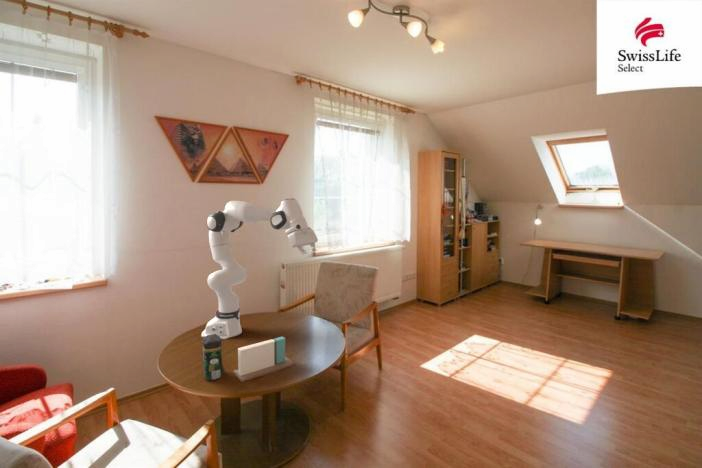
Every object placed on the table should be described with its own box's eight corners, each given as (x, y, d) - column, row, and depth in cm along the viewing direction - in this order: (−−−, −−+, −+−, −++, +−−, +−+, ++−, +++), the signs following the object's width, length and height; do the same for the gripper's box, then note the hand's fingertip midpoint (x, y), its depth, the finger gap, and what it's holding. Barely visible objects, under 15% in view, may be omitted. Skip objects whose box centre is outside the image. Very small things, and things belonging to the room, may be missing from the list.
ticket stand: (241, 382, 153) (240, 354, 151) (233, 372, 161) (233, 345, 159) (293, 365, 169) (293, 339, 167) (284, 357, 176) (284, 332, 175)
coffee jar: (203, 372, 160) (201, 334, 158) (221, 368, 164) (220, 331, 161) (204, 382, 152) (203, 342, 149) (223, 378, 155) (222, 339, 153)
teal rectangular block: (276, 364, 166) (275, 341, 165) (273, 361, 169) (273, 338, 167) (285, 361, 170) (285, 338, 168) (282, 358, 172) (282, 336, 170)
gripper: (305, 229, 186) (315, 252, 184) (283, 231, 167) (293, 258, 166) (314, 224, 183) (324, 248, 182) (292, 226, 165) (303, 253, 163)
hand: (309, 253), depth 174 cm, fingers open, 8 cm apart
